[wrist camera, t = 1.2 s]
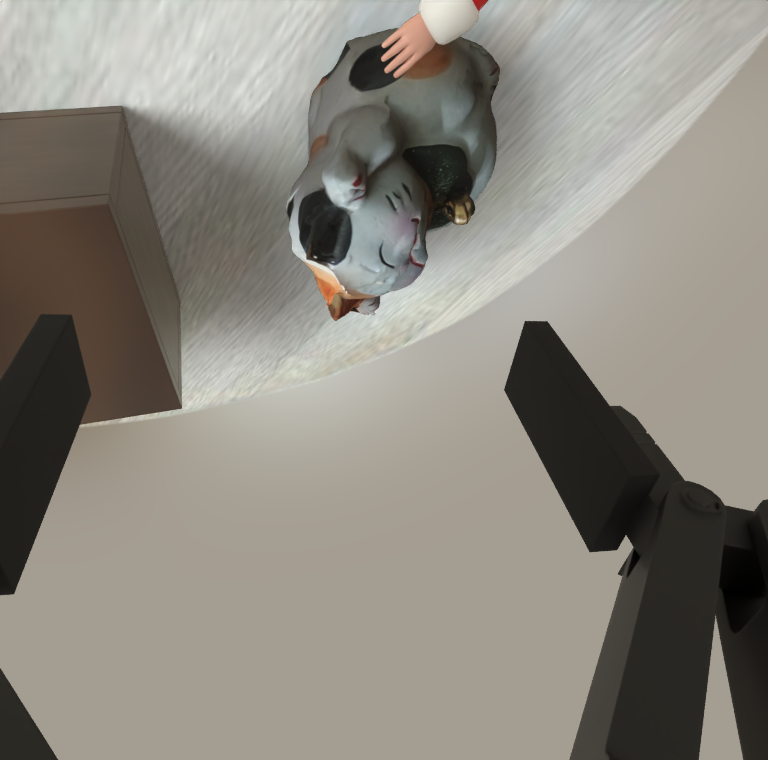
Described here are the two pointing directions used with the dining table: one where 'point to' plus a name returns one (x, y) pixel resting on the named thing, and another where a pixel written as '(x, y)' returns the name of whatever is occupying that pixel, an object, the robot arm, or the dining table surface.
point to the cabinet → (88, 256)
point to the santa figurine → (430, 30)
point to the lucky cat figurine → (390, 165)
